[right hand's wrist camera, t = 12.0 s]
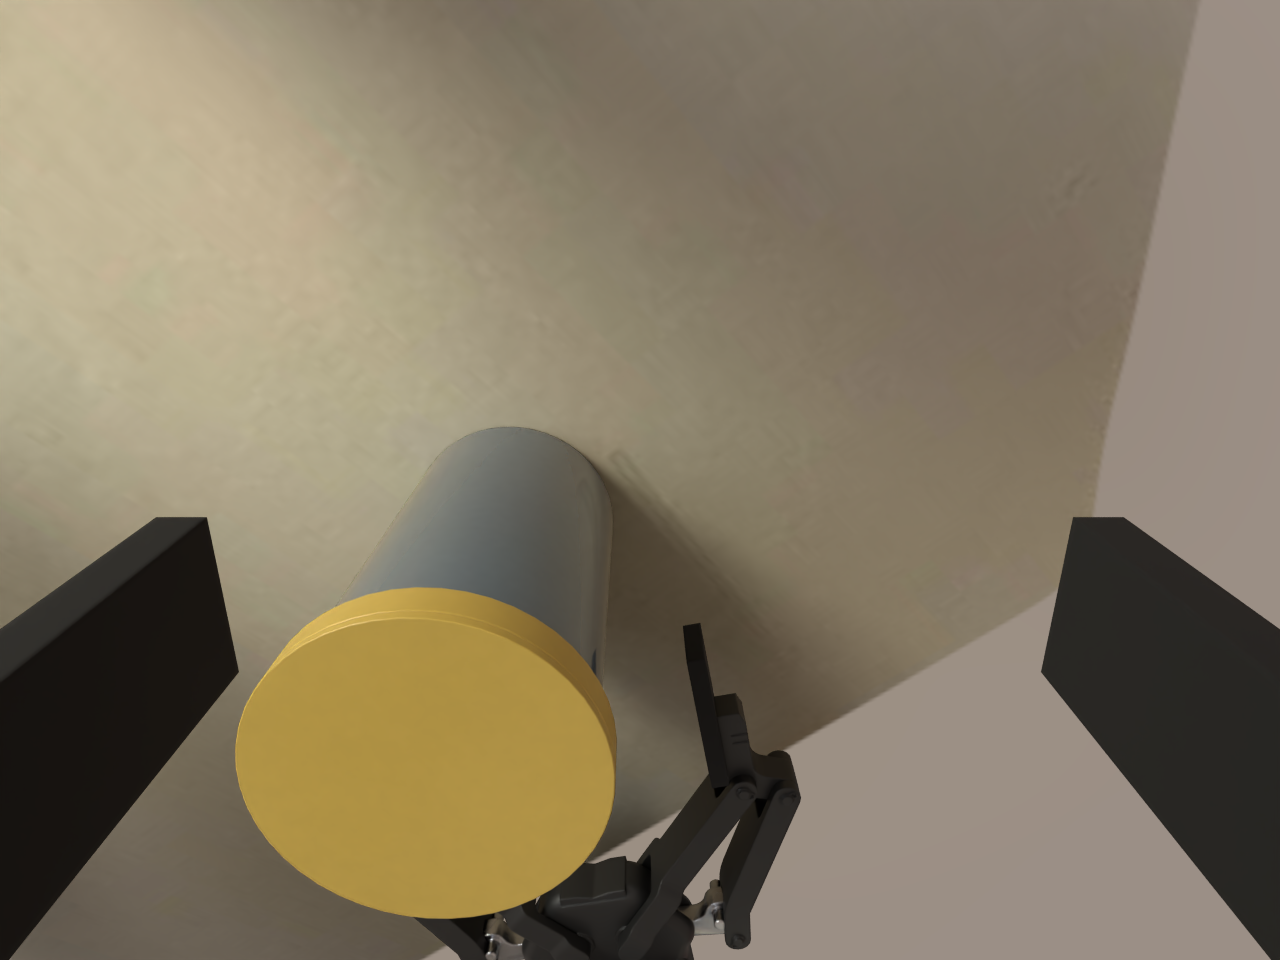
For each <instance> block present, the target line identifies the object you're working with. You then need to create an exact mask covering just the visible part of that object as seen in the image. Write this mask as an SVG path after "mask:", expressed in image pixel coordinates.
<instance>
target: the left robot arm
mask: <svg viewBox="0 0 1280 960" xmlns="http://www.w3.org/2000/svg"><path fill="white" fill-rule="evenodd" d="M683 631H684V641H685V651H686V661H687V666H688V671H689V676H690V681H691V686H692V691H693V696H694V701H695V706H696V711H697V716H698V721H699V726H700V731H701V736H702V741H703V746H704V751H705V756H706V761H707V766H708V771H709V774H708V776H707V777H706V778H705V780H704V781H703V782H702V784H701V785H700V786H699V788H698V789H697V790H696V792H695V793H694V794H693V796H692V797H691V798H690V800H689V801H688V802H687V804H686V805H685V806H684V808H683V809H682V811H681V812H680V813H679V815H678V816H677V817H676V819H675V820H674V821H673V823H672V824H671V825H670V827H669V828H668V829H667V831H666V832H665V833H664V835H663V836H662V837H661V838H660V839H659V838H655V839H654V840H653V841H652V843H651V844H650V845H649V847H648V848H647V849H646V851H645V852H644V853H643V855H642V856H641V857H640V859H639V860H638V861H637V863H636V862H632V861H627V860H626V856H622V857H615V858H610V859H607V860H604V861H601V862H599V863H596V864H589V863H583V864H582V865H581V866H580V867H579V868H578V869H577V870H576V871H574V872H573V873H572V874H571V875H570V876H569V877H568V878H567V879H565V880H564V881H563V882H561V883H560V884H559V885H557V886H556V887H554V888H553V889H551V890H550V891H548V892H546V893H544V894H542V895H541V896H540V898H539V900H538V901H537V903H536V898H535V899H533V900H531V901H528V902H526V903H523V904H521V905H519V906H516V907H513V908H510V909H506V910H503V911H499V912H496V913H492V914H486V915H480V916H475V917H466V918H453V919H437V918H420V917H414V918H415V919H416V920H418V921H419V922H420V923H421V924H422V925H423V926H425V927H426V928H427V929H428V930H429V931H431V932H432V933H433V934H434V935H435V936H437V937H438V938H439V939H440V940H441V941H442V942H444V943H445V944H446V945H447V946H448V947H450V948H451V949H452V950H453V951H454V952H456V953H457V954H458V956H459V957H460V959H461V960H523V959H525V960H694V958H693V953H692V949H691V945H690V944H691V942H692V940H693V937H694V935H711V934H725V942H726V944H727V945H728V946H729V947H730V948H733V949H743V948H745V947H747V946H748V945H749V944H750V941H751V932H750V912H751V910H752V908H753V906H754V903H755V901H756V899H757V897H758V894H759V892H760V890H761V888H762V886H763V883H764V881H765V879H766V877H767V874H768V872H769V870H770V868H771V865H772V863H773V861H774V859H775V857H776V854H777V852H778V850H779V848H780V846H781V843H782V841H783V839H784V837H785V834H786V832H787V830H788V828H789V825H790V823H791V821H792V819H793V817H794V814H795V812H796V810H797V808H798V805H799V803H800V800H801V796H800V792H799V788H798V784H797V780H796V776H795V772H794V768H793V765H792V761H791V758H790V755H789V754H788V753H787V752H784V751H779V750H777V751H773V752H771V753H770V754H768V756H764V755H759V754H757V753H755V752H754V751H752V749H751V748H750V745H749V739H748V733H747V728H746V722H745V717H744V712H743V707H742V702H741V700H740V699H739V698H738V696H737V695H736V693H734V694H727V695H721V696H715V697H714V693H713V688H712V683H711V677H710V672H709V667H708V662H707V656H706V651H705V646H704V640H703V635H702V630H701V625H700V623H697V624H691V625H685V626H683ZM739 819H740V821H739ZM738 821H739V823H738V825H737V828H736V830H735V833H734V835H733V837H732V840H731V842H730V844H729V847H728V849H727V852H726V854H725V856H724V859H723V862H722V865H721V869H720V880H712V881H711V882H710V889H709V890H708V891H707V892H706V893H705V896H704V899H703V900H702V901H701V902H700V903H698V904H694V905H692V904H691V902H690V900H689V899H688V898H687V897H686V896H685V895H684V894H683V892H684V890H685V888H686V887H687V886H688V885H689V883H690V882H691V881H692V879H693V878H694V877H695V876H696V874H697V873H698V872H699V871H700V869H701V868H702V867H703V865H704V864H705V863H706V862H707V860H708V859H709V858H710V856H711V855H712V854H713V853H714V851H715V850H716V849H717V848H718V846H719V845H720V844H721V842H722V841H723V840H724V839H725V837H726V836H727V835H728V833H729V832H730V831H731V830H732V828H733V827H734V826H735V825H736V823H737V822H738ZM535 903H536V905H535ZM504 918H505V920H506V922H505V921H503V920H504Z"/></svg>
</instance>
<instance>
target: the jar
mask: <svg viewBox="0 0 1280 960" xmlns="http://www.w3.org/2000/svg"><path fill="white" fill-rule="evenodd" d="M612 533H613V514H612V506H611V502H610V498H609V495H608V492H607V490H606V487H605V485H604V483H603V481H602V479H601V478H600V476H599V474H598V473H597V471H596V470H595V469H594V467H593V466H592V465H591V464H590V462H589V461H588V460H587V459H586V458H585V457H584V456H583V455H581V454H580V453H579V452H578V451H577V450H575V449H574V448H573V447H571V446H570V445H568V444H567V443H565V442H563V441H561V440H560V439H558V438H556V437H553V436H551V435H549V434H546V433H543V432H540V431H536V430H532V429H526V428H520V427H500V428H491V429H487V430H482V431H478V432H476V433H473V434H470V435H468V436H465V437H464V438H462V439H460V440H458V441H456V442H455V443H453V444H452V445H450V446H449V447H448V448H446V449H445V450H444V451H443V452H442V453H441V454H440V455H439V456H438V457H437V458H436V459H435V460H434V462H433V463H432V464H431V466H430V467H429V468H428V470H427V471H426V473H425V474H424V476H423V477H422V479H421V480H420V482H419V483H418V485H417V486H416V488H415V489H414V490H413V492H412V493H411V495H410V496H409V498H408V499H407V501H406V502H405V504H404V505H403V507H402V508H401V510H400V511H399V513H398V514H397V516H396V517H395V519H394V520H393V522H392V523H391V525H390V526H389V528H388V529H387V531H386V532H385V534H384V535H383V536H382V538H381V539H380V541H379V542H378V544H377V545H376V547H375V548H374V550H373V551H372V553H371V554H370V556H369V557H368V559H367V560H366V562H365V563H364V565H363V566H362V568H361V569H360V571H359V572H358V574H357V575H356V577H355V578H354V580H353V581H352V582H351V584H350V585H349V587H348V588H347V590H346V591H345V593H344V594H343V596H342V597H341V599H340V600H339V602H338V603H337V605H336V606H335V607H337V606H339V605H341V604H343V603H345V602H348V601H351V600H354V599H356V598H359V597H362V596H365V595H368V594H373V593H378V592H382V591H387V590H392V589H403V588H414V587H424V588H445V589H452V590H459V591H466V592H470V593H474V594H478V595H482V596H486V597H490V598H493V599H495V600H498V601H500V602H503V603H506V604H508V605H511V606H514V607H516V608H517V609H519V610H521V611H523V612H525V613H527V614H529V615H531V616H533V617H535V618H536V619H538V620H539V621H541V622H542V623H544V624H545V625H547V626H548V627H550V628H551V629H553V630H554V631H555V632H557V633H558V634H559V635H560V636H561V637H562V638H563V639H565V640H566V641H567V642H568V643H569V644H570V645H571V646H573V648H574V649H575V650H576V651H577V652H578V653H579V654H580V656H581V657H582V658H583V659H584V660H585V661H586V662H587V664H588V665H589V667H590V668H591V670H592V671H593V673H594V674H595V676H596V677H597V679H598V680H599V682H600V684H601V686H602V688H603V673H604V657H605V642H606V626H607V611H608V595H609V580H610V564H611V549H612Z"/></svg>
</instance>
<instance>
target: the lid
mask: <svg viewBox="0 0 1280 960" xmlns="http://www.w3.org/2000/svg"><path fill="white" fill-rule="evenodd" d="M616 746H617V737H616V730H615V722H614V717H613V714H612V711H611V707H610V704H609V701H608V699H607V696H606V694H605V692H604V690H603V688H602V686H601V684H600V682H599V680H598V679H597V677H596V676H595V674H594V673H593V671H592V670H591V668H590V667H589V665H588V664H587V662H586V661H585V660H584V659H583V658H582V657H581V656H580V654H579V653H578V652H577V651H576V650H575V649H574V648H573V646H571V645H570V644H569V643H568V642H567V641H566V640H565V639H563V638H562V637H561V636H560V635H559V634H558V633H557V632H555V631H554V630H553V629H551V628H550V627H548V626H547V625H545V624H544V623H542V622H541V621H539V620H538V619H536V618H535V617H533V616H531V615H529V614H527V613H525V612H523V611H521V610H519V609H517V608H516V607H514V606H511V605H508V604H506V603H503V602H500V601H498V600H495V599H493V598H490V597H486V596H482V595H478V594H474V593H470V592H466V591H459V590H452V589H445V588H424V587H414V588H403V589H392V590H387V591H382V592H378V593H373V594H368V595H365V596H362V597H359V598H356V599H354V600H351V601H348V602H345V603H343V604H341V605H339V606H337V607H335V608H333V609H331V610H329V611H327V612H325V613H323V614H322V615H320V616H319V617H318V618H316V619H315V620H313V621H312V622H310V623H309V624H308V625H306V626H305V627H304V628H303V629H302V630H301V631H300V632H299V633H298V634H297V635H295V636H294V637H293V638H292V639H291V640H290V641H289V643H288V644H287V645H286V647H285V648H284V649H283V651H282V652H281V653H280V654H279V656H278V657H277V658H276V660H275V661H274V663H273V664H272V665H271V667H270V668H269V670H268V671H267V672H266V674H265V675H264V677H263V678H262V679H261V681H260V682H259V683H258V685H257V686H256V688H255V689H254V691H253V693H252V695H251V696H250V698H249V700H248V702H247V704H246V706H245V708H244V711H243V714H242V717H241V720H240V723H239V726H238V732H237V739H236V746H235V753H236V771H237V776H238V781H239V787H240V789H241V792H242V795H243V798H244V801H245V803H246V806H247V808H248V810H249V812H250V814H251V816H252V818H253V819H254V821H255V823H256V825H257V826H258V828H259V829H260V830H261V832H262V833H263V835H264V836H265V837H266V839H267V840H268V842H269V843H270V844H271V845H272V846H273V847H274V848H275V849H276V850H277V851H278V852H279V854H280V855H281V856H282V857H283V858H284V859H286V860H287V861H288V862H289V863H290V864H291V865H293V866H294V867H295V868H296V869H297V870H298V871H300V872H301V873H302V874H304V875H305V876H307V877H308V878H310V879H311V880H313V881H314V882H316V883H317V884H319V885H320V886H322V887H324V888H326V889H328V890H330V891H331V892H333V893H335V894H337V895H339V896H341V897H344V898H346V899H348V900H351V901H353V902H356V903H358V904H361V905H364V906H367V907H370V908H374V909H377V910H380V911H384V912H389V913H394V914H398V915H403V916H411V917H420V918H437V919H453V918H466V917H475V916H480V915H486V914H492V913H496V912H499V911H503V910H506V909H510V908H513V907H516V906H519V905H521V904H523V903H526V902H528V901H531V900H533V899H535V898H537V897H539V896H541V895H542V894H544V893H546V892H548V891H550V890H551V889H553V888H554V887H556V886H557V885H559V884H560V883H561V882H563V881H564V880H565V879H567V878H568V877H569V876H570V875H571V874H572V873H573V872H574V871H576V870H577V869H578V868H579V867H580V866H581V865H582V864H583V863H584V861H585V860H586V859H587V858H588V856H589V855H590V854H591V852H592V851H593V850H594V849H595V847H596V845H597V844H598V842H599V840H600V838H601V837H602V835H603V833H604V831H605V829H606V826H607V823H608V821H609V818H610V815H611V812H612V807H613V802H614V797H615V778H616Z"/></svg>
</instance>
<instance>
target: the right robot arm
mask: <svg viewBox="0 0 1280 960" xmlns="http://www.w3.org/2000/svg"><path fill="white" fill-rule="evenodd" d="M238 672H239V670H238V665H237V661H236V656H235V651H234V646H233V641H232V636H231V632H230V627H229V622H228V617H227V612H226V608H225V603H224V598H223V593H222V588H221V583H220V579H219V574H218V569H217V564H216V559H215V554H214V550H213V545H212V540H211V535H210V530H209V525H208V521H207V517H156V518H155V519H153V520H152V521H150V522H149V523H148V524H146V525H145V526H143V527H142V528H141V529H139V530H138V531H137V532H135V533H134V534H132V535H131V536H130V537H128V538H127V539H125V540H124V541H123V542H121V543H120V544H118V545H117V546H116V547H114V548H113V549H111V550H110V551H109V552H107V553H106V554H104V555H103V556H102V557H100V558H99V559H97V560H96V561H95V562H93V563H92V564H91V565H89V566H88V567H86V568H85V569H84V570H82V571H81V572H79V573H78V574H77V575H75V576H74V577H72V578H71V579H70V580H68V581H67V582H65V583H64V584H63V585H61V586H60V587H58V588H57V589H56V590H54V591H53V592H51V593H50V594H49V595H47V596H46V597H45V598H43V599H42V600H40V601H39V602H38V603H36V604H35V605H33V606H32V607H31V608H29V609H28V610H26V611H25V612H24V613H22V614H21V615H19V616H18V617H17V618H15V619H14V620H12V621H11V622H10V623H8V624H7V625H5V626H4V627H3V628H1V629H0V960H9V959H10V958H11V956H12V955H13V954H14V953H15V951H16V950H17V949H18V948H19V946H20V945H21V944H22V943H23V941H24V940H25V939H26V938H27V936H28V935H29V934H30V933H31V931H32V930H33V929H34V928H35V926H36V925H37V924H38V923H39V921H40V920H41V919H42V918H43V916H44V915H45V914H46V913H47V911H48V910H49V909H50V908H51V906H52V905H53V904H54V903H55V901H56V900H57V899H58V898H59V896H60V895H61V894H62V893H63V891H64V890H65V889H66V888H67V886H68V885H69V884H70V883H71V881H72V880H73V879H74V878H75V876H76V875H77V874H78V873H79V871H80V870H81V869H82V868H83V866H84V865H85V864H86V863H87V861H88V860H89V859H90V858H91V856H92V855H93V854H94V853H95V851H96V850H97V849H98V848H99V846H100V845H101V844H102V843H103V841H104V840H105V839H106V838H107V836H108V835H109V834H110V833H111V831H112V830H113V829H114V828H115V826H116V825H117V824H118V823H119V821H120V820H121V819H122V818H123V816H124V815H125V814H126V813H127V811H128V810H129V809H130V808H131V806H132V805H133V804H134V803H135V801H136V800H137V799H138V798H139V796H140V795H141V794H142V793H143V791H144V790H145V789H146V788H147V786H148V785H149V784H150V783H151V781H152V780H153V779H154V778H155V776H156V775H157V774H158V773H159V771H160V770H161V769H162V768H163V766H164V765H165V764H166V763H167V761H168V760H169V759H170V758H171V756H172V755H173V754H174V753H175V751H176V750H177V749H178V748H179V746H180V745H181V744H182V743H183V741H184V740H185V739H186V738H187V736H188V735H189V734H190V733H191V731H192V730H193V729H194V728H195V726H196V725H197V724H198V723H199V721H200V720H201V719H202V718H203V716H204V715H205V714H206V713H207V711H208V710H209V709H210V708H211V706H212V705H213V704H214V703H215V701H216V700H217V699H218V698H219V696H220V695H221V694H222V693H223V691H224V690H225V689H226V687H227V686H228V685H229V684H230V682H231V681H232V680H233V679H234V677H235V676H236V675H237V674H238ZM1041 672H1042V674H1043V675H1044V676H1045V677H1046V679H1047V680H1048V681H1049V682H1050V684H1051V685H1052V686H1053V687H1054V689H1055V690H1056V691H1057V692H1058V694H1059V695H1060V696H1061V698H1062V699H1063V700H1064V701H1065V703H1066V704H1067V705H1068V706H1069V708H1070V709H1071V710H1072V711H1073V712H1074V714H1075V715H1076V716H1077V717H1078V719H1079V720H1080V721H1081V722H1082V724H1083V725H1084V726H1085V728H1086V729H1087V730H1088V731H1089V732H1090V734H1091V735H1092V736H1093V737H1094V739H1095V740H1096V741H1097V742H1098V744H1099V745H1100V746H1101V748H1102V749H1103V750H1104V751H1105V753H1106V754H1107V755H1108V756H1109V758H1110V759H1111V760H1112V761H1113V762H1114V764H1115V765H1116V766H1117V768H1118V769H1119V770H1120V771H1121V773H1122V774H1123V775H1124V776H1125V778H1126V779H1127V780H1128V781H1129V782H1130V784H1131V785H1132V786H1133V788H1134V789H1135V790H1136V791H1137V793H1138V794H1139V795H1140V796H1141V798H1142V799H1143V800H1144V801H1145V803H1146V804H1147V805H1148V806H1149V808H1150V809H1151V810H1152V811H1153V812H1154V814H1155V815H1156V816H1157V818H1158V819H1159V820H1160V821H1161V822H1162V824H1163V825H1164V826H1165V828H1166V829H1167V830H1168V831H1169V833H1170V834H1171V835H1172V836H1173V838H1174V839H1175V840H1176V841H1177V843H1178V844H1179V845H1180V846H1181V848H1182V849H1183V850H1184V851H1185V853H1186V854H1187V855H1188V856H1189V858H1190V859H1191V860H1192V861H1193V863H1194V864H1195V865H1196V866H1197V867H1198V869H1199V870H1200V871H1201V872H1202V874H1203V875H1204V876H1205V878H1206V879H1207V880H1208V881H1209V883H1210V884H1211V885H1212V886H1213V888H1214V889H1215V890H1216V891H1217V893H1218V894H1219V895H1220V896H1221V898H1222V899H1223V900H1224V901H1225V903H1226V904H1227V905H1228V906H1229V908H1230V909H1231V910H1232V911H1233V913H1234V914H1235V915H1236V916H1237V918H1238V919H1239V920H1240V921H1241V923H1242V924H1243V925H1244V926H1245V928H1246V929H1247V930H1248V931H1249V933H1250V934H1251V935H1252V936H1253V938H1254V939H1255V940H1256V941H1257V943H1258V944H1259V945H1260V946H1261V948H1262V949H1263V950H1264V951H1265V953H1266V954H1267V955H1268V956H1269V958H1270V959H1271V960H1280V629H1279V628H1277V627H1276V626H1275V625H1273V624H1272V623H1270V622H1269V621H1267V620H1266V619H1265V618H1263V617H1262V616H1261V615H1259V614H1258V613H1256V612H1255V611H1254V610H1252V609H1251V608H1249V607H1248V606H1247V605H1245V604H1244V603H1242V602H1241V601H1240V600H1238V599H1237V598H1235V597H1234V596H1233V595H1231V594H1230V593H1229V592H1227V591H1226V590H1224V589H1223V588H1222V587H1220V586H1219V585H1217V584H1216V583H1215V582H1213V581H1212V580H1210V579H1209V578H1208V577H1206V576H1205V575H1203V574H1202V573H1201V572H1199V571H1198V570H1196V569H1195V568H1194V567H1192V566H1191V565H1189V564H1188V563H1187V562H1185V561H1184V560H1183V559H1181V558H1180V557H1178V556H1177V555H1176V554H1174V553H1173V552H1171V551H1170V550H1169V549H1167V548H1166V547H1164V546H1163V545H1162V544H1160V543H1159V542H1157V541H1156V540H1155V539H1153V538H1152V537H1150V536H1149V535H1148V534H1146V533H1145V532H1143V531H1142V530H1141V529H1139V528H1138V527H1137V526H1135V525H1134V524H1132V523H1131V522H1130V521H1128V520H1127V519H1125V518H1124V517H1073V521H1072V525H1071V530H1070V535H1069V540H1068V545H1067V550H1066V554H1065V559H1064V564H1063V569H1062V574H1061V579H1060V583H1059V588H1058V593H1057V598H1056V603H1055V608H1054V612H1053V617H1052V622H1051V627H1050V632H1049V636H1048V641H1047V646H1046V651H1045V656H1044V661H1043V665H1042V670H1041Z"/></svg>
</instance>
